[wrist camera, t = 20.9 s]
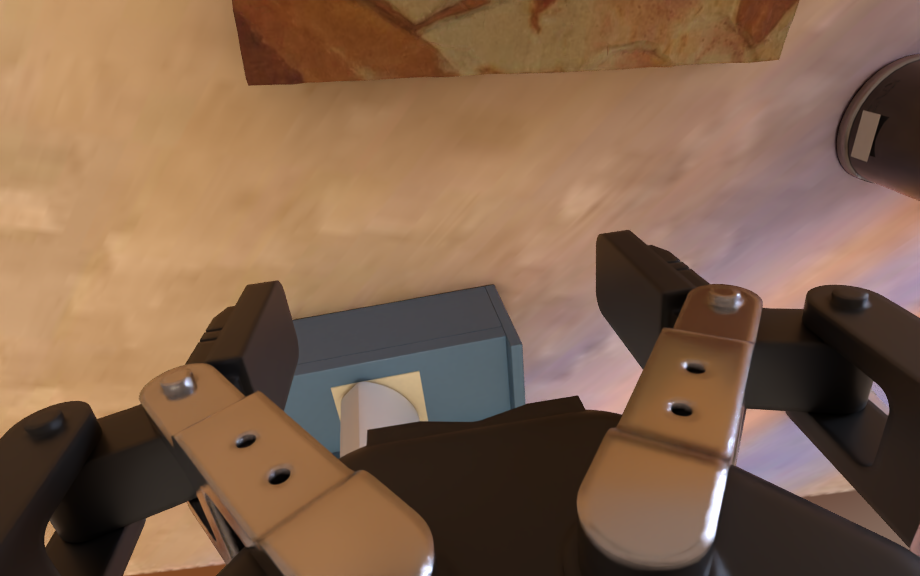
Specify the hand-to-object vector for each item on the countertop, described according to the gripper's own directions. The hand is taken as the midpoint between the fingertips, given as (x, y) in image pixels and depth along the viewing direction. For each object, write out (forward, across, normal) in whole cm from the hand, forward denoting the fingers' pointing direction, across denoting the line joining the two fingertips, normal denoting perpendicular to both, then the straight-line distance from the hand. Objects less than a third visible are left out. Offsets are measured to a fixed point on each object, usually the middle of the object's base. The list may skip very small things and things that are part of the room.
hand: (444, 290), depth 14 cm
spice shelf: (+26, +5, +21) cm, 34 cm away
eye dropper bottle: (+19, +5, +17) cm, 26 cm away
